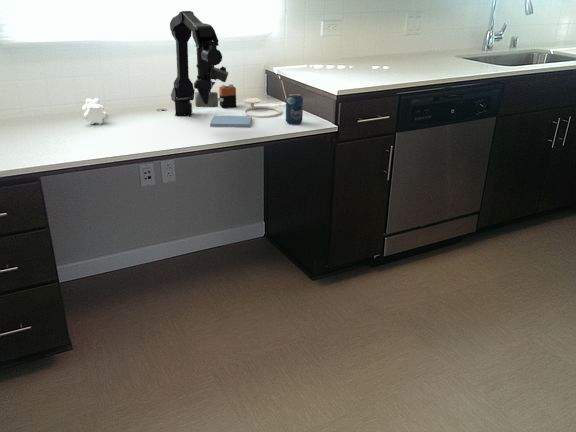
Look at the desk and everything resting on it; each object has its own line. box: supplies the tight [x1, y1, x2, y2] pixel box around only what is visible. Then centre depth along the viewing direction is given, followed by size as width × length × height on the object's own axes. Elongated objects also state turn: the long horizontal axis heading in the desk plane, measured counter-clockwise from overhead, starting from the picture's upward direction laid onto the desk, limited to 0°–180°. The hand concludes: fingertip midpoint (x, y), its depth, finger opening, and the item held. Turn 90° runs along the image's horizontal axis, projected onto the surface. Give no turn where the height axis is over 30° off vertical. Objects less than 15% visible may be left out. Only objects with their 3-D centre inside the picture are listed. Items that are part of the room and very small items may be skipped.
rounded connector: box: [194, 91, 223, 108], centre depth 209 cm, size 11×4×5 cm, turn 90°
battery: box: [218, 84, 237, 109], centre depth 249 cm, size 4×7×10 cm, turn 112°
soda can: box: [285, 92, 304, 126], centre depth 226 cm, size 7×7×12 cm
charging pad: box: [209, 115, 253, 128], centre depth 227 cm, size 16×13×1 cm
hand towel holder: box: [243, 97, 282, 119], centre depth 243 cm, size 17×4×21 cm
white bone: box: [81, 97, 108, 125], centre depth 225 cm, size 15×9×8 cm, turn 22°
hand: (206, 102), depth 209 cm, fingers closed on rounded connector, 4 cm apart
